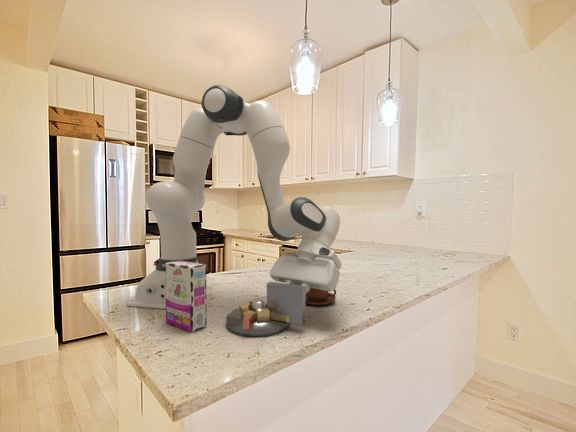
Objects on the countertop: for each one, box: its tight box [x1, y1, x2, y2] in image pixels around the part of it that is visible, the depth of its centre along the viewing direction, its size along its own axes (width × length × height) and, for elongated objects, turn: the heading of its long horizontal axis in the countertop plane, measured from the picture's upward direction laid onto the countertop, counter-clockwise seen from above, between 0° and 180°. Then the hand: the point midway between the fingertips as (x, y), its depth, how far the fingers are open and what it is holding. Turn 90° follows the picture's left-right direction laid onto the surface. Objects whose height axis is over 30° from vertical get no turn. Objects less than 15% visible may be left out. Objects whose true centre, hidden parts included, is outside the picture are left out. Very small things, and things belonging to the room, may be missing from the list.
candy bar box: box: [165, 261, 208, 333], centre depth 78 cm, size 11×5×16 cm, turn 56°
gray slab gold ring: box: [238, 281, 306, 325], centre depth 77 cm, size 18×10×9 cm, turn 65°
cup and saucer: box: [305, 288, 337, 306], centre depth 97 cm, size 12×12×6 cm
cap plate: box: [225, 298, 291, 338], centre depth 79 cm, size 17×17×6 cm
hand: (291, 298), depth 77 cm, fingers closed
